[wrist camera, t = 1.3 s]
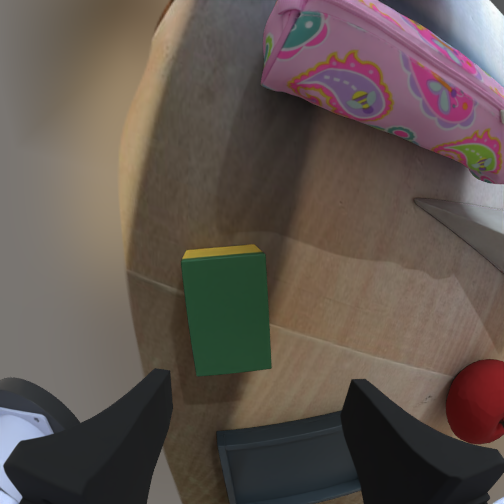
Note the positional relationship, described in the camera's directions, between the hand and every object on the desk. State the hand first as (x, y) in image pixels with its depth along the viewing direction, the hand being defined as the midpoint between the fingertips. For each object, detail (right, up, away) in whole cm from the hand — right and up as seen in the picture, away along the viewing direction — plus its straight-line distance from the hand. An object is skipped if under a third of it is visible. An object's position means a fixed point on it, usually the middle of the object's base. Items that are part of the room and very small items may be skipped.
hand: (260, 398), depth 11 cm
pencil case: (+10, +18, +9) cm, 22 cm away
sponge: (-2, +3, +10) cm, 10 cm away
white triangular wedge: (+23, +5, +13) cm, 27 cm away
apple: (+23, -9, +15) cm, 29 cm away
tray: (+4, -14, +13) cm, 20 cm away
